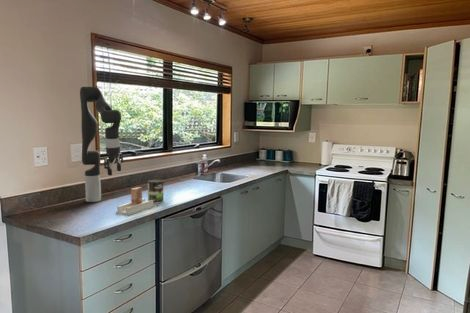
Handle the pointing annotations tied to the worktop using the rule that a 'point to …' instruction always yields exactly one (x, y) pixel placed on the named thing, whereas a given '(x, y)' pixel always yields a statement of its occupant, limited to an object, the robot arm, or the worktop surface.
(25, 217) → the worktop surface
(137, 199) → the wooden card
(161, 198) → the coffee can
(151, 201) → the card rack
